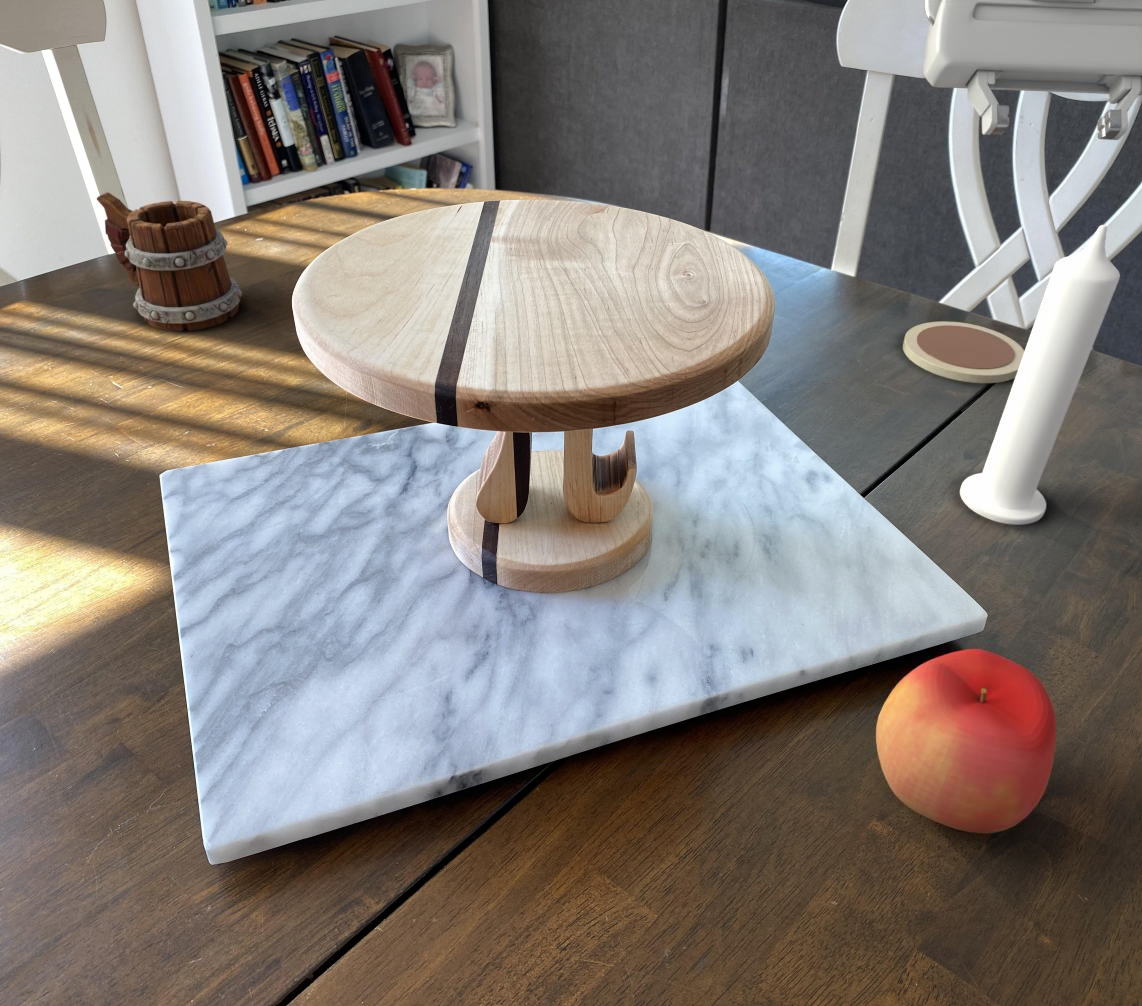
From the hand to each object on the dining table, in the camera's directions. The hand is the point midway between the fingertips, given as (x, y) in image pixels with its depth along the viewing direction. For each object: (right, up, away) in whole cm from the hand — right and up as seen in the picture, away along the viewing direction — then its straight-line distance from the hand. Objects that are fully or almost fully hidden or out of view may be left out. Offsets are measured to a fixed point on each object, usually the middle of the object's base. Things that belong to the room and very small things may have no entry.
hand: (1054, 133), depth 76 cm
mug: (-85, -8, +34) cm, 92 cm away
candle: (-1, -30, +7) cm, 31 cm away
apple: (-16, -48, -18) cm, 54 cm away
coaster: (+5, -14, +29) cm, 32 cm away
